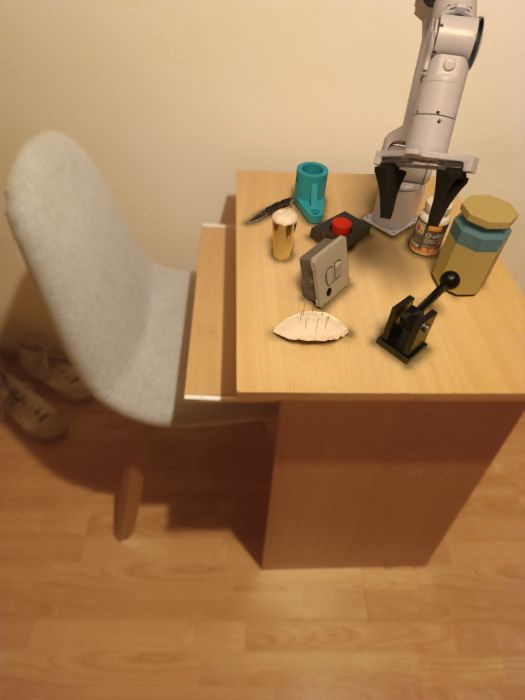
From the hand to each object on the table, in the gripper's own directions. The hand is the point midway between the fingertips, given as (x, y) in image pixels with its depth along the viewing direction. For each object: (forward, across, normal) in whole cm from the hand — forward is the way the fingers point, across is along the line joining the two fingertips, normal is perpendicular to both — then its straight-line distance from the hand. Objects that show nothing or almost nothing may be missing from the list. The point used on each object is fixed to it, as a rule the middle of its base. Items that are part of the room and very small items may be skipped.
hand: (408, 222), depth 67 cm
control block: (+5, -21, +14) cm, 26 cm away
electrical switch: (+14, -14, +2) cm, 20 cm away
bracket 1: (0, -32, +16) cm, 36 cm away
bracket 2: (+18, +2, +3) cm, 19 cm away
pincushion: (+19, -9, -6) cm, 22 cm away
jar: (+9, +1, +22) cm, 24 cm away
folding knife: (+2, -35, +9) cm, 36 cm away
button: (+3, -19, +10) cm, 22 cm away
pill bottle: (+4, -9, +25) cm, 27 cm away
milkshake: (+9, -25, +3) cm, 27 cm away
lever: (+11, +4, +5) cm, 13 cm away
